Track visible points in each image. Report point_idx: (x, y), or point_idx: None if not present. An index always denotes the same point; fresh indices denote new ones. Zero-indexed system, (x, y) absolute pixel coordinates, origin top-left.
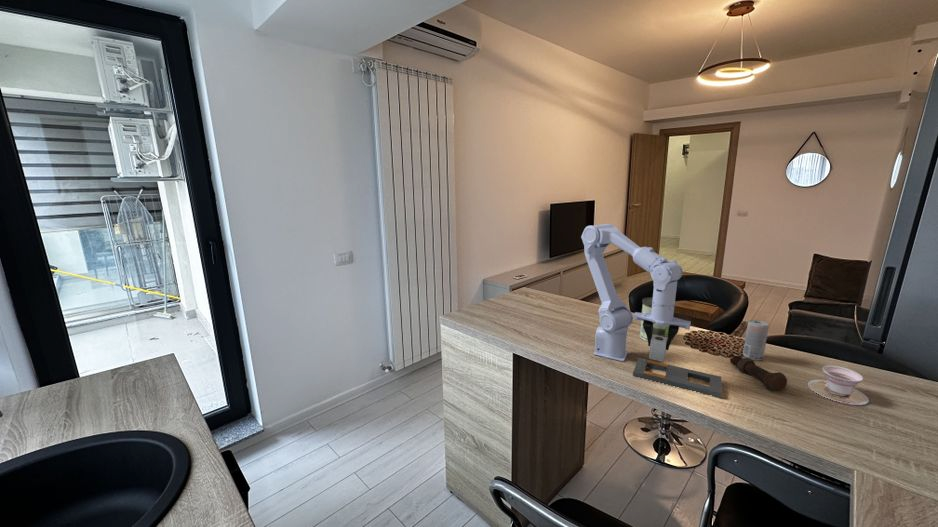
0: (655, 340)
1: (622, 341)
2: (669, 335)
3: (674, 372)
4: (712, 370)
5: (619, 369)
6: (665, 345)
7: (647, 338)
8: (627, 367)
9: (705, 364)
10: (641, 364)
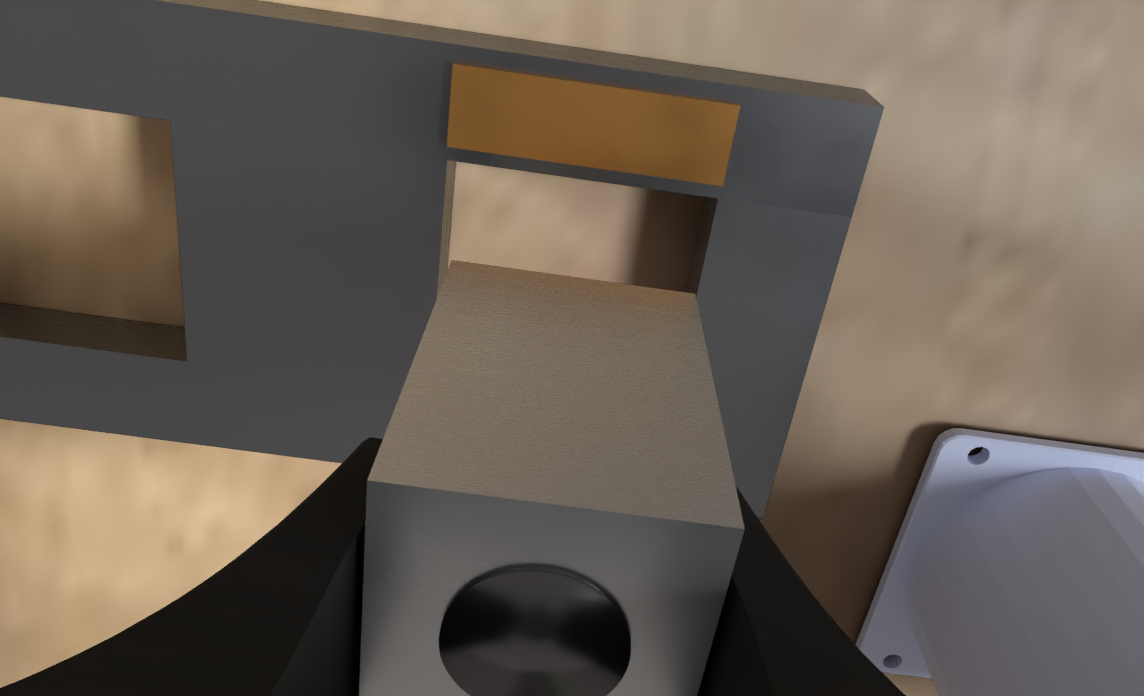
0: (629, 516)
1: (1066, 675)
2: (237, 661)
3: (338, 301)
4: (3, 560)
5: (1023, 217)
6: (394, 435)
7: (808, 591)
8: (904, 309)
9: (83, 650)
10: (745, 361)
